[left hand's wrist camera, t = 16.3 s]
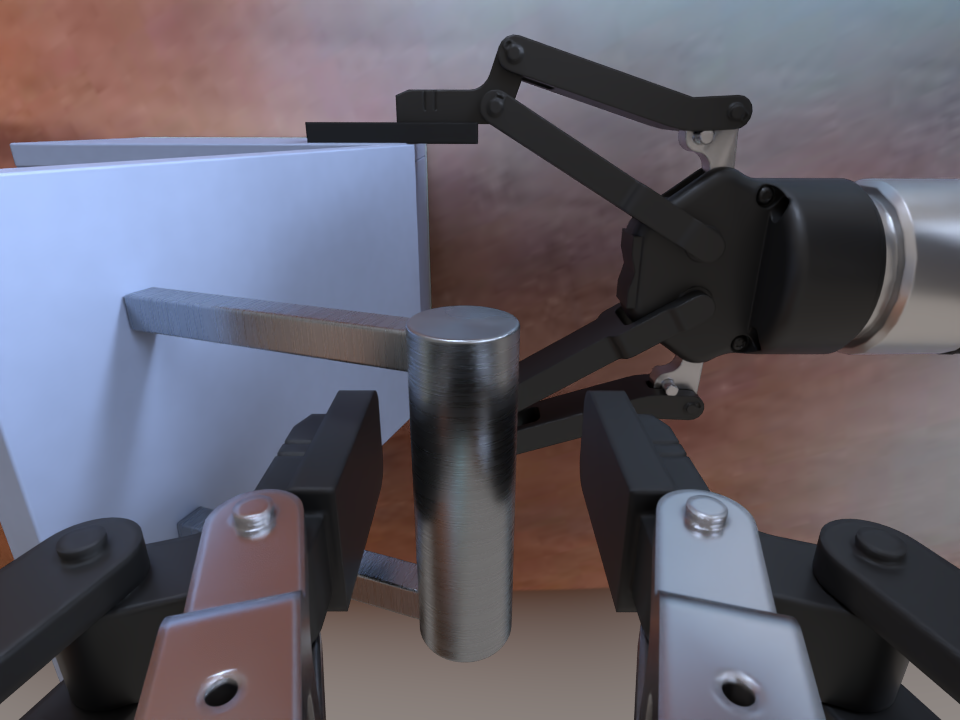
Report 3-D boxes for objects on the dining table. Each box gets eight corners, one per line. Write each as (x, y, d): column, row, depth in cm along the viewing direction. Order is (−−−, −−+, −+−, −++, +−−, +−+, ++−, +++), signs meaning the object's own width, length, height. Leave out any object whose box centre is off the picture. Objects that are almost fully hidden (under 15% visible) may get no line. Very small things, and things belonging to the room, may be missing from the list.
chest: (182, 326, 34) (79, 397, 25) (144, 137, 30) (7, 142, 21) (432, 327, 34) (415, 397, 25) (426, 137, 30) (404, 143, 21)
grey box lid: (67, 705, 12) (451, 877, 9) (-130, 176, 8) (432, 205, 5) (404, 401, 25) (603, 435, 22) (390, 143, 21) (630, 147, 18)
